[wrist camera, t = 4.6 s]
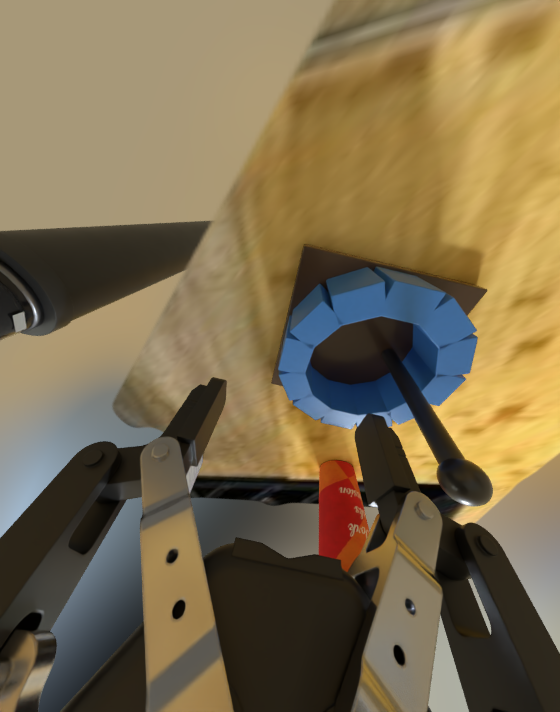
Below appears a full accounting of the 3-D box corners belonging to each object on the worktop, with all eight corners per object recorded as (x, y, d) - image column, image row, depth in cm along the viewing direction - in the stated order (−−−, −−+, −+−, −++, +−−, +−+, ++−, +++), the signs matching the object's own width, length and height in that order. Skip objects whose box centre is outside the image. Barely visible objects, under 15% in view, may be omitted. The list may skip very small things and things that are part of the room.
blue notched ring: (273, 382, 22) (267, 411, 19) (305, 249, 15) (305, 258, 11) (389, 408, 23) (403, 441, 19) (483, 292, 15) (533, 313, 12)
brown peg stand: (272, 376, 23) (243, 512, 13) (304, 243, 15) (297, 308, 5) (387, 402, 24) (453, 555, 13) (477, 285, 16) (847, 436, 5)
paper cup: (364, 477, 34) (393, 607, 23) (321, 481, 37) (328, 600, 25) (354, 453, 31) (382, 594, 19) (306, 459, 33) (306, 587, 22)
